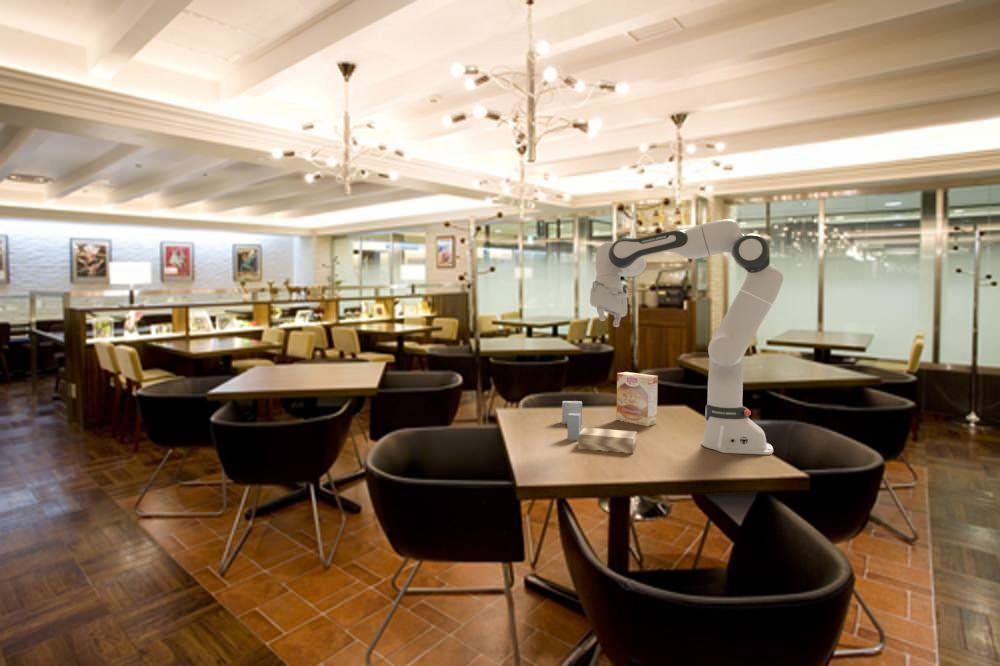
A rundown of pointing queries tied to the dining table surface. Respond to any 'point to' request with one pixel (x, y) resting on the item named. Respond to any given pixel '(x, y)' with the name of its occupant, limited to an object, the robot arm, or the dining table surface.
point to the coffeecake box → (637, 398)
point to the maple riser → (607, 440)
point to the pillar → (574, 426)
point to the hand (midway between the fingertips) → (609, 323)
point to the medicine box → (570, 409)
